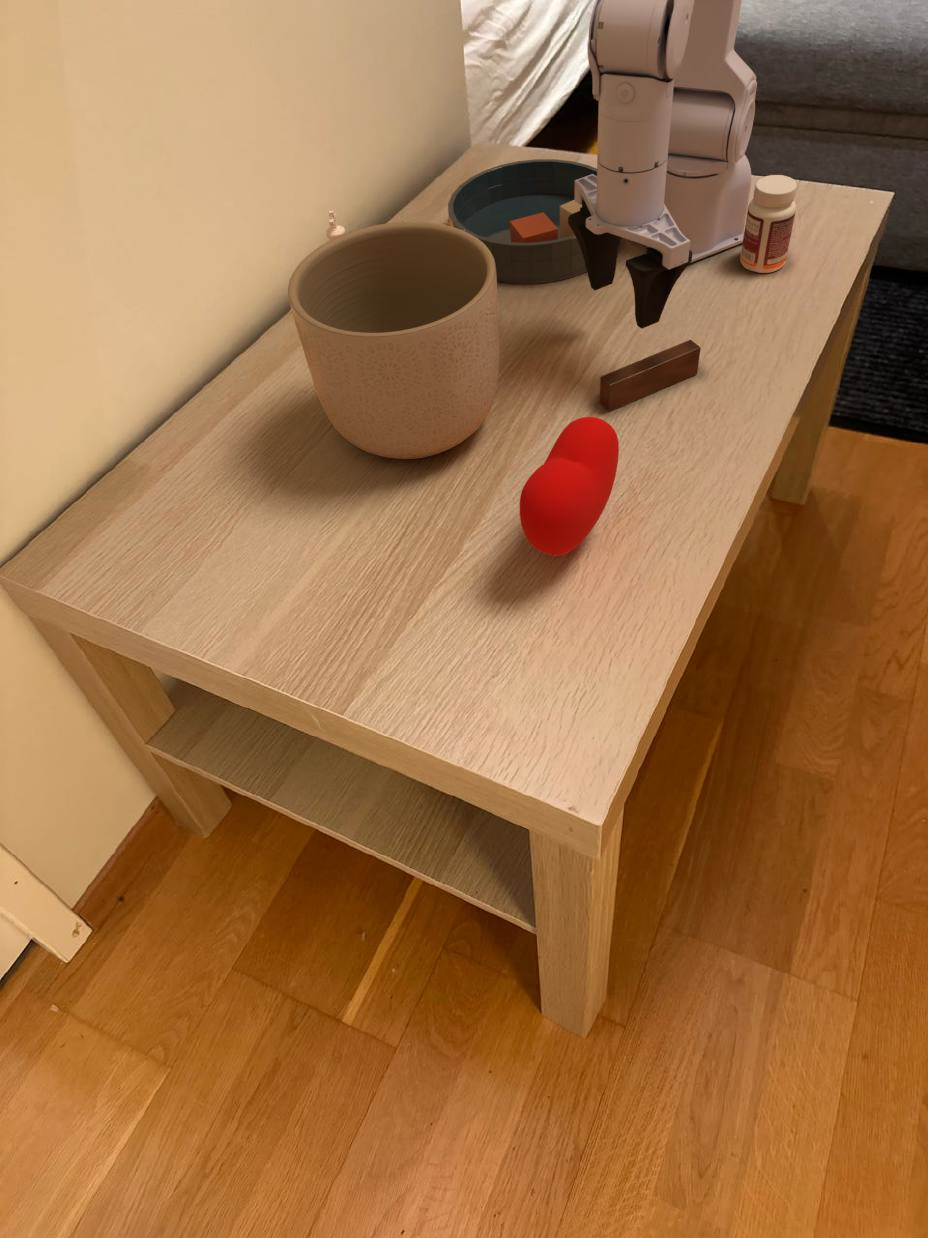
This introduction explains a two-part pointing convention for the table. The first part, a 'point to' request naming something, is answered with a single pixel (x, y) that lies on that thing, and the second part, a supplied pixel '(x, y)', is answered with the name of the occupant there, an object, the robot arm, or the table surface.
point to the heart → (570, 487)
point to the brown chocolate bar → (649, 375)
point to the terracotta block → (533, 229)
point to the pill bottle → (769, 224)
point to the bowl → (516, 195)
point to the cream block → (564, 214)
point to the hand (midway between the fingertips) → (624, 303)
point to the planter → (400, 335)
